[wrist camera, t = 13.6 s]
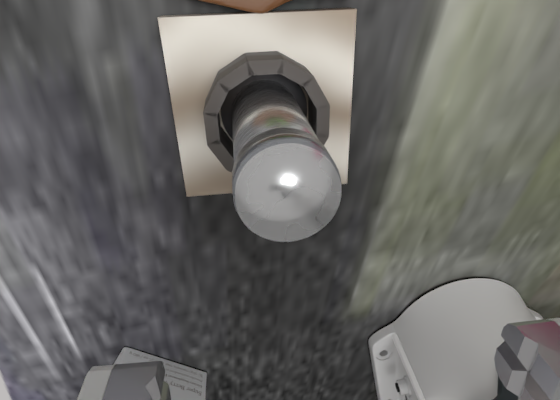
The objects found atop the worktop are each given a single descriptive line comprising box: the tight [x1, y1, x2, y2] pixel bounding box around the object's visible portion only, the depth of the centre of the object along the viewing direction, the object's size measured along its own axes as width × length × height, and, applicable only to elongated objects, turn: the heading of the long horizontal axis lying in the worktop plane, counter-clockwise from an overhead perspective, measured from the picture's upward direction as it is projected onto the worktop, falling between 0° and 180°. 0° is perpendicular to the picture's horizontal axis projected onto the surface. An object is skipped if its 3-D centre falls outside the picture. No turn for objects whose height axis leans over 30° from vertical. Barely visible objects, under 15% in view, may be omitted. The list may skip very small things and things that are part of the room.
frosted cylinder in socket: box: [232, 80, 342, 242], centre depth 22 cm, size 5×5×12 cm
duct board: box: [158, 8, 357, 197], centre depth 26 cm, size 12×12×4 cm
